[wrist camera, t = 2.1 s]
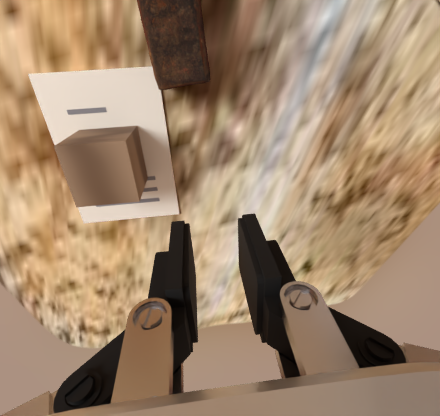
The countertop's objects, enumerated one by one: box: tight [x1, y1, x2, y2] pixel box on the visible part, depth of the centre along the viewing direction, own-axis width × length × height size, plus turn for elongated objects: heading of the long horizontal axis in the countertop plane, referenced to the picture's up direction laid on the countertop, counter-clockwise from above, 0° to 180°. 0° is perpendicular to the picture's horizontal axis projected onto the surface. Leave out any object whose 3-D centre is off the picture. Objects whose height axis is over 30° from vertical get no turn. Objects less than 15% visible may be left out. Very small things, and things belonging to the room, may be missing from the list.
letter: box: [28, 66, 179, 223], centre depth 24 cm, size 10×14×1 cm
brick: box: [137, 0, 210, 90], centre depth 18 cm, size 11×4×5 cm, turn 7°
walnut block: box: [54, 126, 148, 207], centre depth 22 cm, size 5×5×5 cm
